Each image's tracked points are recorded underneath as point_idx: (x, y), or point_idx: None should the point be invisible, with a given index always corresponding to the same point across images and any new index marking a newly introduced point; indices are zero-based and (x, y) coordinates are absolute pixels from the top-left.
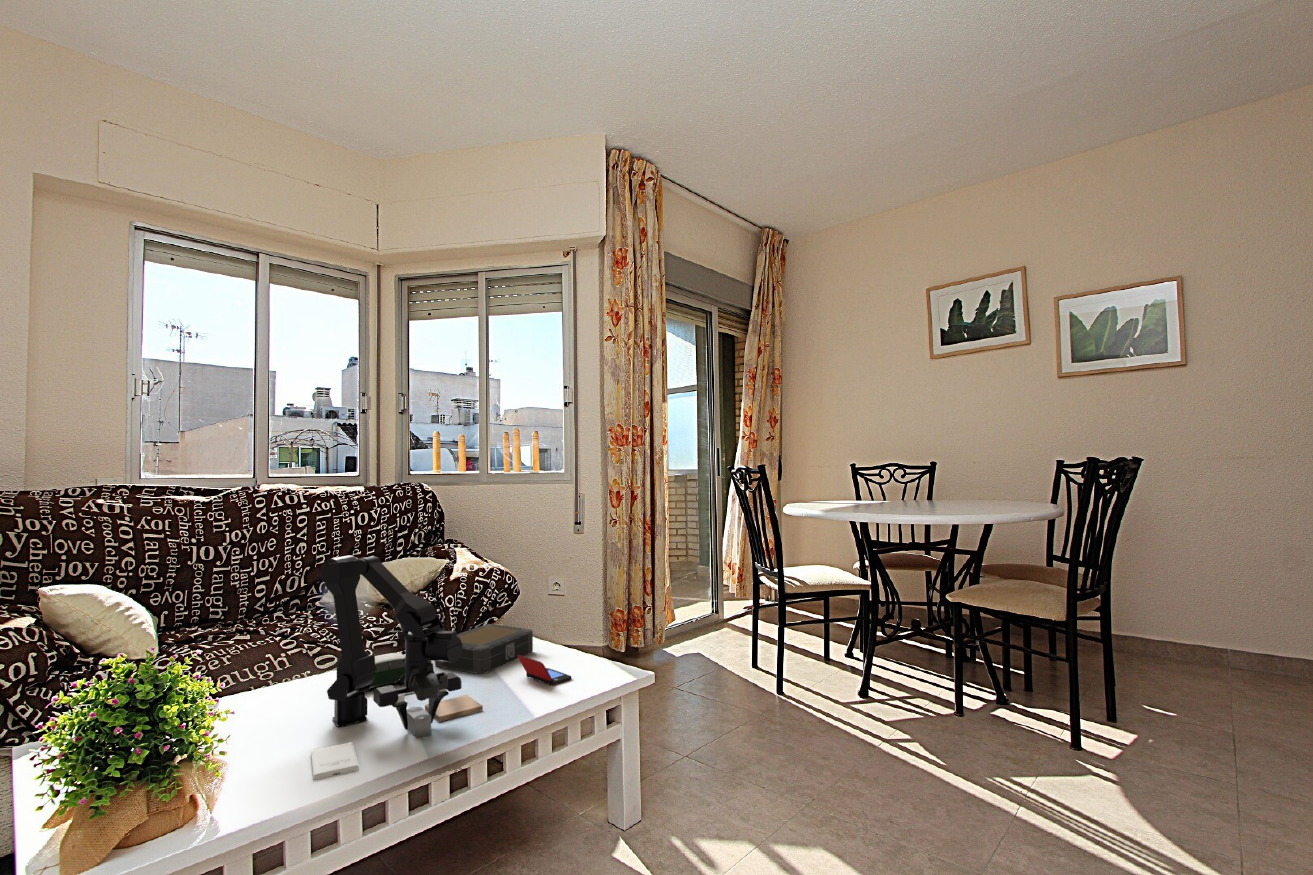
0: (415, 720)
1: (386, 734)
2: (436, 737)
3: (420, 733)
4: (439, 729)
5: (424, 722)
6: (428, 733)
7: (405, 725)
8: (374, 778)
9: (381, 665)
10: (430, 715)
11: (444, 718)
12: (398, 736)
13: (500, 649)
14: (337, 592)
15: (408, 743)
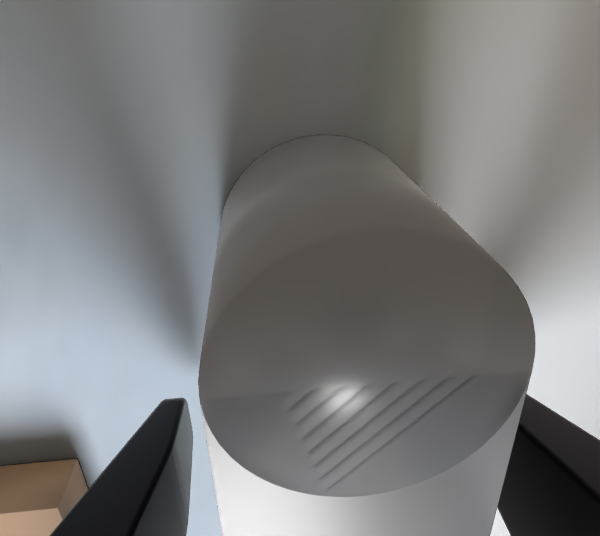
0: (527, 333)
1: (582, 427)
2: (187, 25)
3: (397, 168)
4: (101, 276)
5: (386, 204)
6: (278, 155)
7: (531, 399)
8: None
9: None
10: (206, 393)
11: (6, 481)
12: (535, 336)
13: None
14: None
15: (566, 72)
